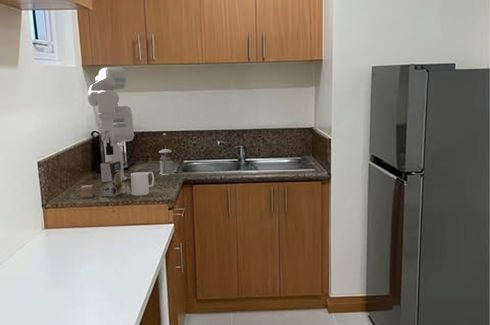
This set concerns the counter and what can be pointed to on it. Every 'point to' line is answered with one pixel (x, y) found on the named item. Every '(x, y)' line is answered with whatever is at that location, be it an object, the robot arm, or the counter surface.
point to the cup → (140, 183)
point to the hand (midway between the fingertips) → (109, 154)
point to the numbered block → (87, 191)
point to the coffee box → (111, 178)
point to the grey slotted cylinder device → (166, 163)
